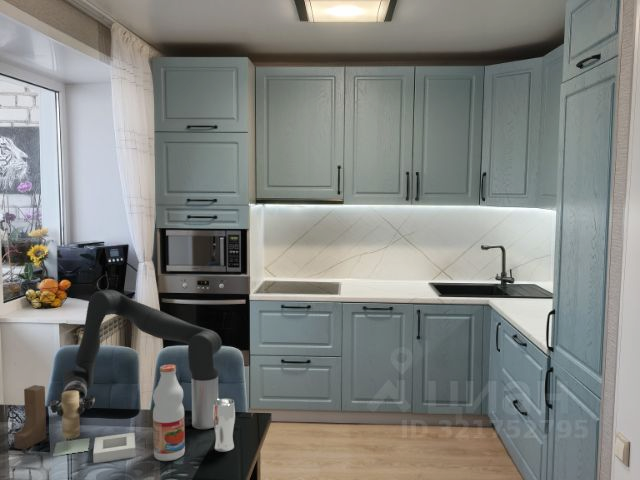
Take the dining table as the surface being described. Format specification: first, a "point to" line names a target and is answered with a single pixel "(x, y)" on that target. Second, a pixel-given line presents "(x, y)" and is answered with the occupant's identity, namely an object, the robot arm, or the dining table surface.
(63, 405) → the wooden peg
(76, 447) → the sage mat
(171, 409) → the fruit juice
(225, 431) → the beer glass
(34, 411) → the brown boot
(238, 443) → the dining table surface
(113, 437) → the white square frame
